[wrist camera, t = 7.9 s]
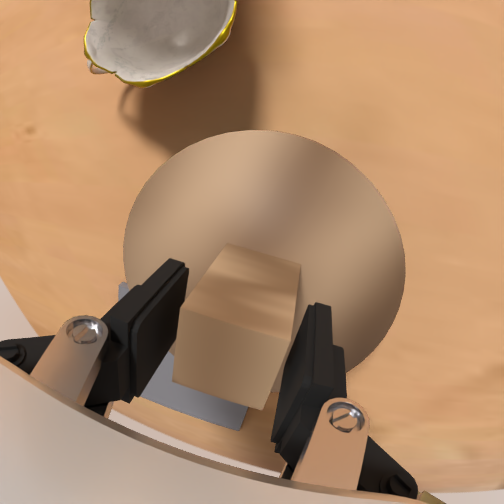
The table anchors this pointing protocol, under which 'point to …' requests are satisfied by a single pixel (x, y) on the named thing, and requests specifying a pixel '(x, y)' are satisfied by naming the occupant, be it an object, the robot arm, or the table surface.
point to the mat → (189, 394)
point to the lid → (265, 256)
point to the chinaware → (154, 36)
